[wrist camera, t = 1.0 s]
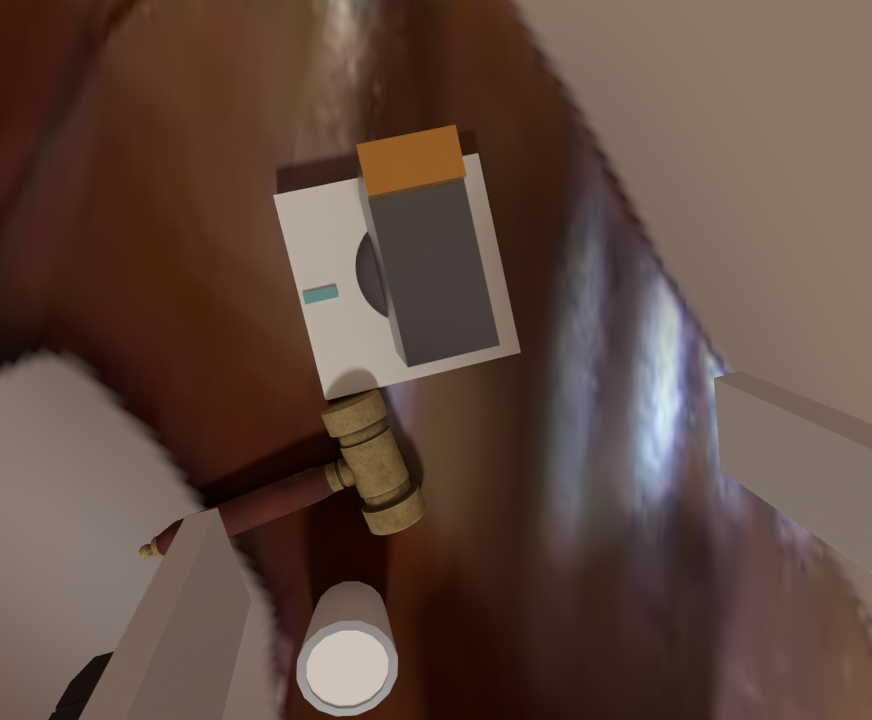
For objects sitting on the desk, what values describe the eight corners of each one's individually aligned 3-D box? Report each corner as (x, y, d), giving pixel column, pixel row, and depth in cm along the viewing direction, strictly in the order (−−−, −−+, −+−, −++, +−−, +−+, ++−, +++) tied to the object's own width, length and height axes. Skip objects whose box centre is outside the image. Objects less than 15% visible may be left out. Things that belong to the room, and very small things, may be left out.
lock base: (513, 350, 45) (545, 359, 37) (327, 396, 43) (318, 415, 35) (472, 160, 43) (497, 126, 35) (277, 200, 42) (257, 174, 34)
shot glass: (288, 628, 45) (274, 686, 38) (339, 557, 45) (335, 602, 38) (360, 671, 46) (359, 735, 39) (410, 601, 46) (418, 653, 39)
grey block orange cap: (473, 329, 36) (531, 339, 23) (374, 353, 35) (380, 376, 23) (441, 187, 35) (484, 118, 22) (339, 209, 34) (325, 150, 22)
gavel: (155, 629, 40) (94, 505, 39) (180, 596, 45) (126, 483, 44) (428, 520, 41) (376, 393, 39) (426, 498, 45) (379, 383, 44)
